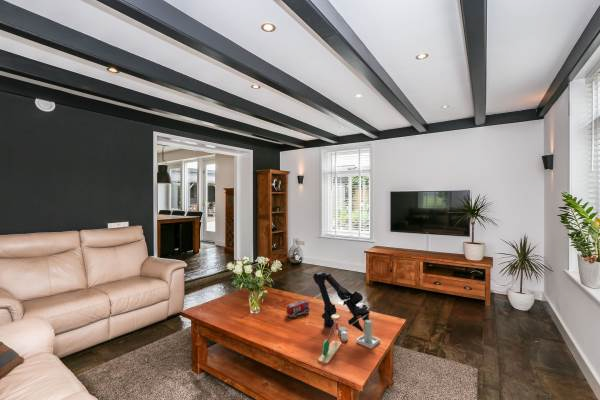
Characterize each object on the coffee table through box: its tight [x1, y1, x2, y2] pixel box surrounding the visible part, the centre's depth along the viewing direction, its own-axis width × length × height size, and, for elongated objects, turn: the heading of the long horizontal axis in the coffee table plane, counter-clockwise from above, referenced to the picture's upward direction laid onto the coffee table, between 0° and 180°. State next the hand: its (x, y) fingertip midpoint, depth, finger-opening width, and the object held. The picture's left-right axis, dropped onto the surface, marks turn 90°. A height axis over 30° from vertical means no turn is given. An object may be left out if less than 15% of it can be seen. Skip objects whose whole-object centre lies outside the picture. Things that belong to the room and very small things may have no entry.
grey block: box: [337, 326, 348, 337], centre depth 196 cm, size 5×5×4 cm
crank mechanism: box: [317, 313, 343, 366], centre depth 174 cm, size 25×7×19 cm, turn 152°
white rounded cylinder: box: [340, 331, 349, 342], centre depth 190 cm, size 4×4×4 cm
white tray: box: [355, 334, 381, 349], centre depth 186 cm, size 11×11×2 cm
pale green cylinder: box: [363, 319, 373, 343], centre depth 186 cm, size 5×5×13 cm
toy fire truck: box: [286, 298, 311, 319], centre depth 229 cm, size 9×19×10 cm, turn 123°
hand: (366, 329), depth 186 cm, fingers open, 9 cm apart
